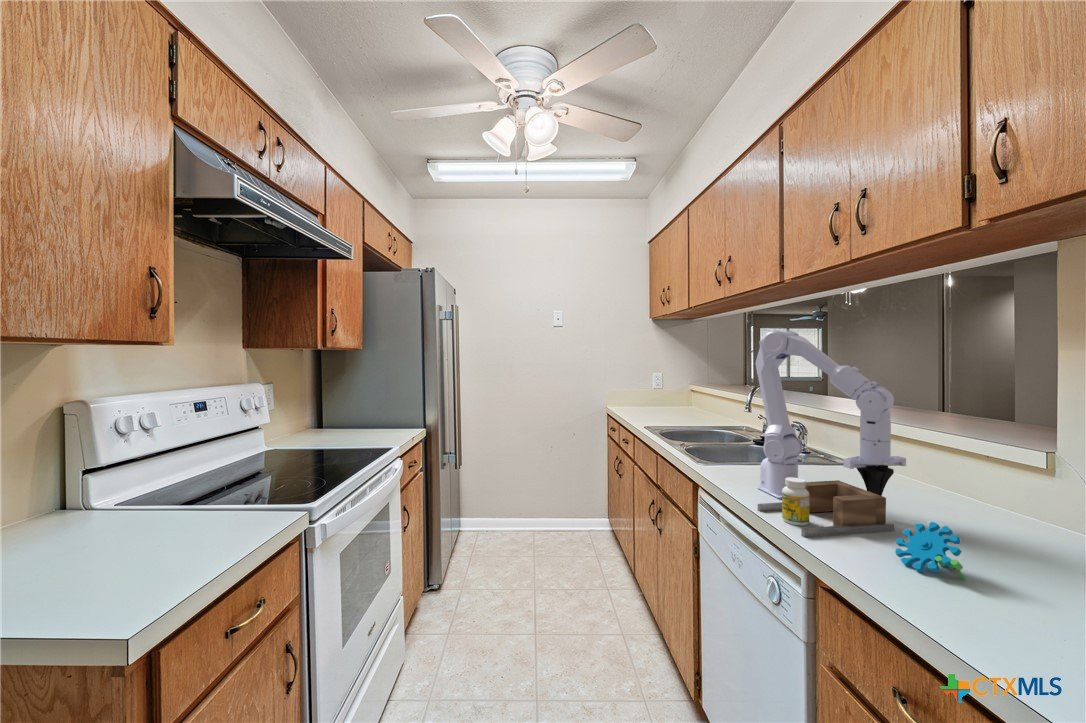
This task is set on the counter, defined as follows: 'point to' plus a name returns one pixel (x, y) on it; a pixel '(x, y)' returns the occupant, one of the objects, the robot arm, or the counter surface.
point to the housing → (846, 503)
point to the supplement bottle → (795, 502)
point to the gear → (930, 549)
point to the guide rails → (833, 529)
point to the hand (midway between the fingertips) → (874, 497)
